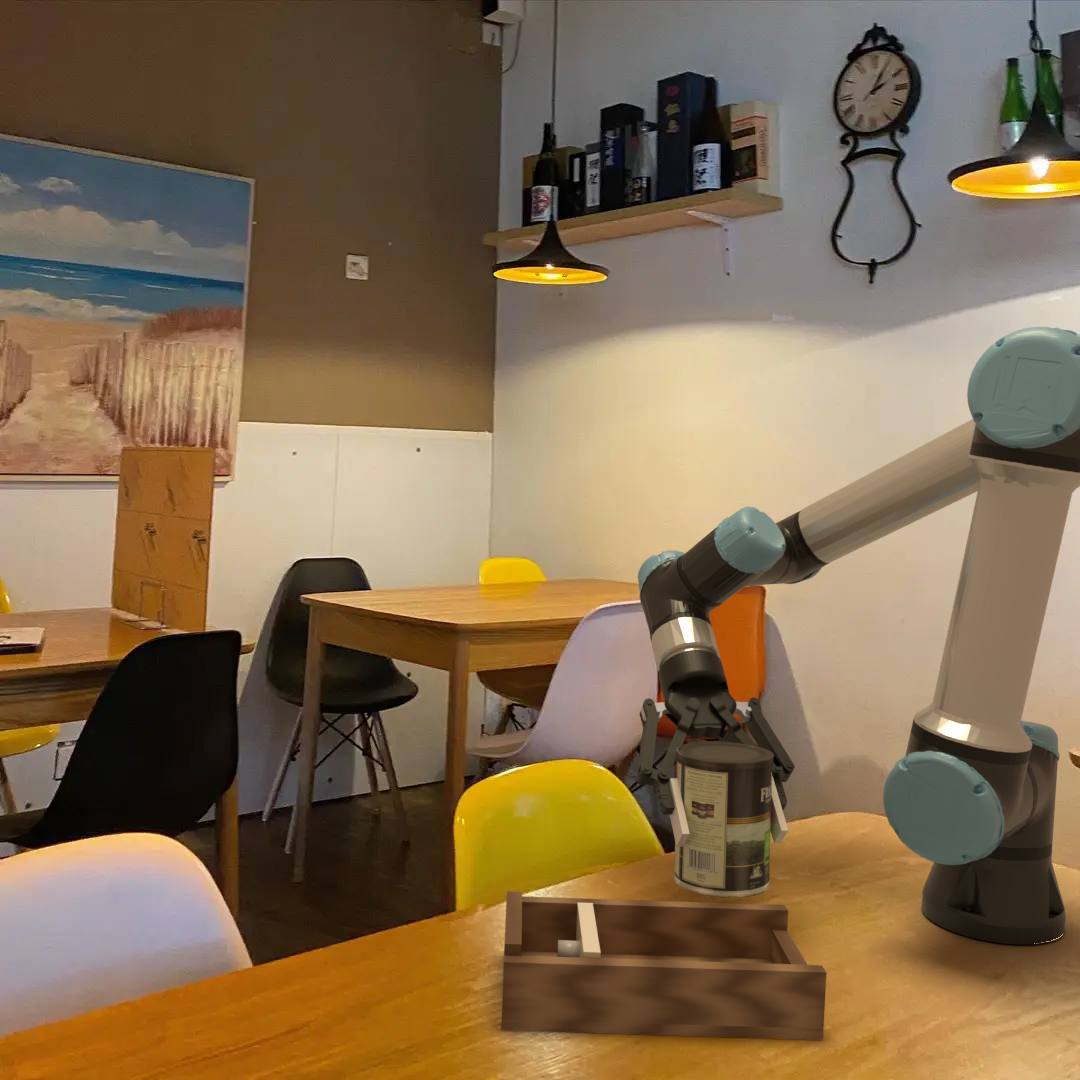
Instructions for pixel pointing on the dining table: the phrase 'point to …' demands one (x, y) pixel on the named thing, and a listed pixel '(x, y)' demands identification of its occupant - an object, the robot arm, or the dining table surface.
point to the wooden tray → (660, 971)
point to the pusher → (582, 936)
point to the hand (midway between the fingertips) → (732, 838)
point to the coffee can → (725, 818)
